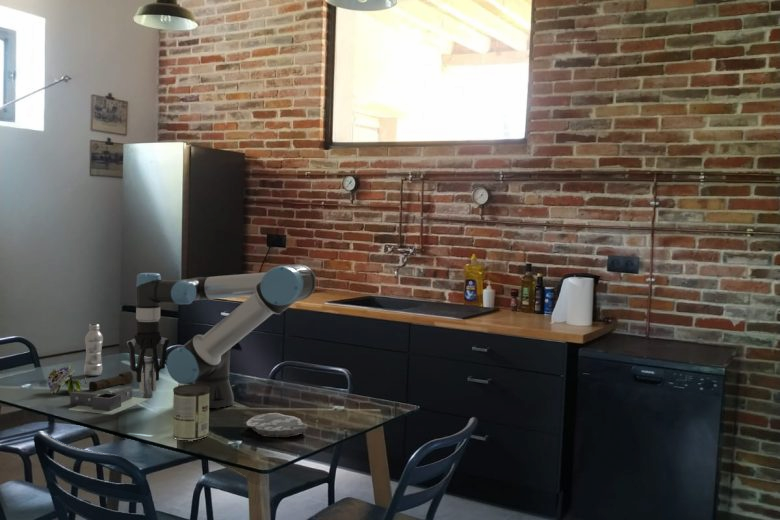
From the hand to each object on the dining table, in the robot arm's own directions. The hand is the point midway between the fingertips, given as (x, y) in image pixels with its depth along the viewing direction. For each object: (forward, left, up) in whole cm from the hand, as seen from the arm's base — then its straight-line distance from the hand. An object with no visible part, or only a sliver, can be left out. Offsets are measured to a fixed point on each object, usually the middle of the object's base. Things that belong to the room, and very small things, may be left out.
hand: (147, 391), depth 236 cm
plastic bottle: (+44, -34, -6) cm, 55 cm away
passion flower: (+36, -7, -6) cm, 37 cm away
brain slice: (-48, +9, -6) cm, 50 cm away
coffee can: (-27, +22, -6) cm, 36 cm away
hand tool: (+27, -21, -6) cm, 35 cm away
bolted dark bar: (+10, -2, -5) cm, 12 cm away
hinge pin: (0, 0, -2) cm, 2 cm away
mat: (+13, +2, -6) cm, 14 cm away
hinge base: (+15, +6, -5) cm, 18 cm away
